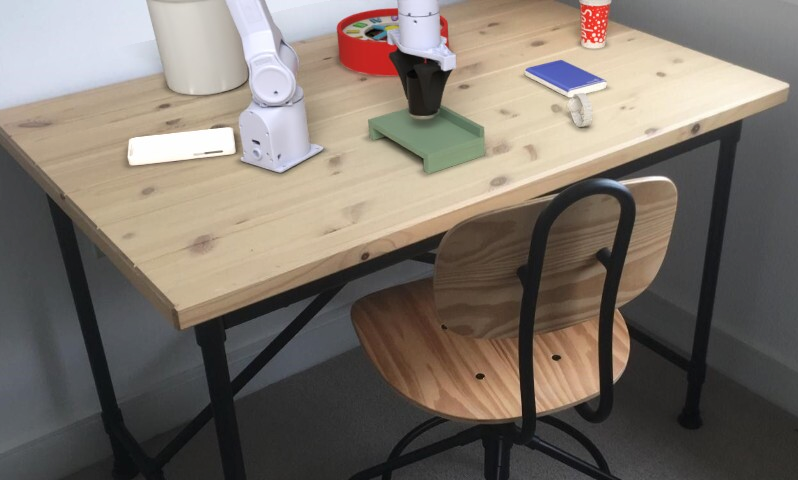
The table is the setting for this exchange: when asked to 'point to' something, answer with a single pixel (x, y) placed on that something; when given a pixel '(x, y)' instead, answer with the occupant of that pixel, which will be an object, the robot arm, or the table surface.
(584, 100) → the wristwatch
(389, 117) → the shelf
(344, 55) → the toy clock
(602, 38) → the beverage cup
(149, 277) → the table surface
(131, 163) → the phone case
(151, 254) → the table surface
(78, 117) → the table surface
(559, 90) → the hard drive
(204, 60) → the utensil holder
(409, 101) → the cylinder
